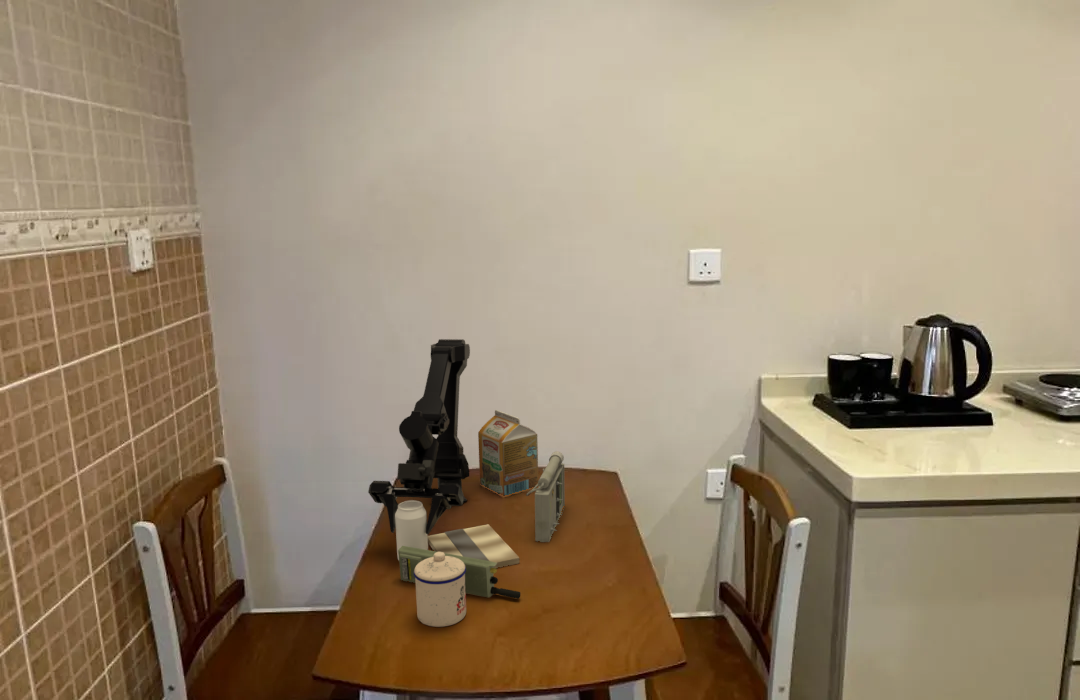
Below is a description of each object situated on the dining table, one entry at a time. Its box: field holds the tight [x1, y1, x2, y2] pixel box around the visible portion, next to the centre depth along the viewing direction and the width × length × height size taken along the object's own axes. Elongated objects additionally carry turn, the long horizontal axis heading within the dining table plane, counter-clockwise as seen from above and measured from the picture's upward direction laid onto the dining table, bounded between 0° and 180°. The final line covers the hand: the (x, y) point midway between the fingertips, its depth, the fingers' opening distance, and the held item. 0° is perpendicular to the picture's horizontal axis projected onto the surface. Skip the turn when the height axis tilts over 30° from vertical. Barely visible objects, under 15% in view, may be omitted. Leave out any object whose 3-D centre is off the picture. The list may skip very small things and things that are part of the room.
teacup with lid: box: [414, 552, 467, 628], centre depth 142 cm, size 12×9×12 cm
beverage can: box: [395, 499, 429, 561], centre depth 162 cm, size 6×6×12 cm
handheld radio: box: [398, 546, 521, 600], centre depth 151 cm, size 7×3×25 cm
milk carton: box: [477, 409, 539, 496], centre depth 200 cm, size 10×11×19 cm
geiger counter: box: [525, 450, 566, 543], centre depth 181 cm, size 14×6×25 cm
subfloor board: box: [427, 523, 520, 569], centre depth 166 cm, size 18×14×1 cm
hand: (409, 533), depth 160 cm, fingers open, 7 cm apart
